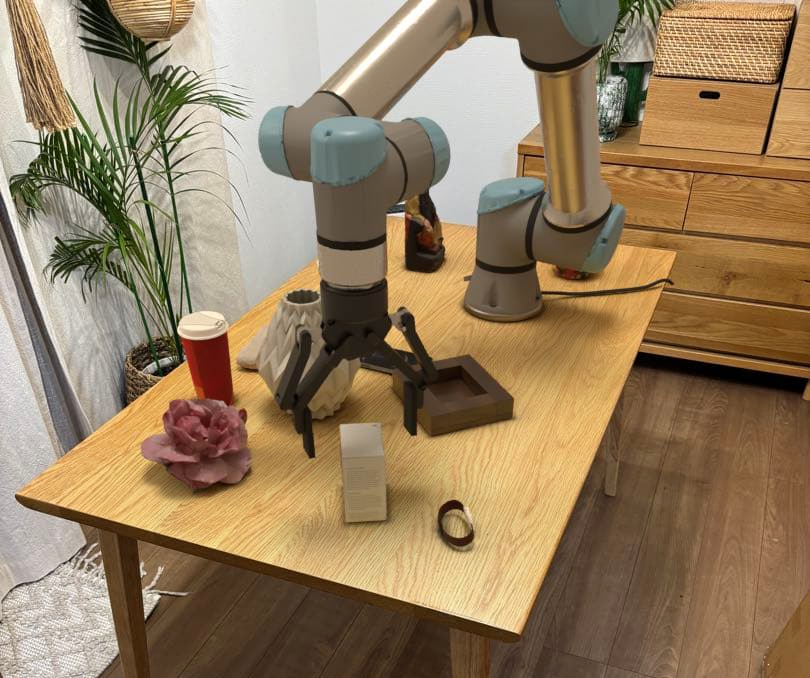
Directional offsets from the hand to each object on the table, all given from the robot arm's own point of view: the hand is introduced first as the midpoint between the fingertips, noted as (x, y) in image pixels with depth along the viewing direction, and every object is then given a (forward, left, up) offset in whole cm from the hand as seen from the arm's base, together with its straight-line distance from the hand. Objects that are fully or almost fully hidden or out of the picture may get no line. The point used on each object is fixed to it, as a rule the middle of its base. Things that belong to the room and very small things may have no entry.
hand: (360, 441), depth 100 cm
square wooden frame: (-22, -20, -10) cm, 32 cm away
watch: (-9, +10, -10) cm, 17 cm away
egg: (-69, -59, -10) cm, 91 cm away
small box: (0, 0, -10) cm, 10 cm away
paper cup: (+13, -35, -10) cm, 39 cm away
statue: (-42, -77, -10) cm, 88 cm away
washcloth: (-3, -48, -10) cm, 49 cm away
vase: (-1, -27, -10) cm, 29 cm away
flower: (+18, -17, -10) cm, 27 cm away
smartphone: (-18, -37, -10) cm, 42 cm away
